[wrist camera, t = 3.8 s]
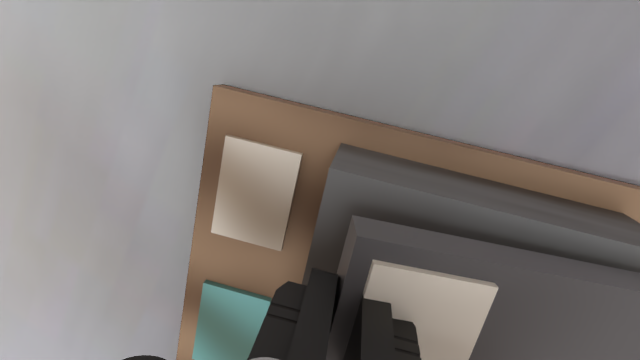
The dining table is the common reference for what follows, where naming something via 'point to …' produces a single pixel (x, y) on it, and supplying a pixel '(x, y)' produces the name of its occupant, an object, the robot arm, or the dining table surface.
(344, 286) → the rocker
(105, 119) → the dining table surface
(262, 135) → the switch panel
